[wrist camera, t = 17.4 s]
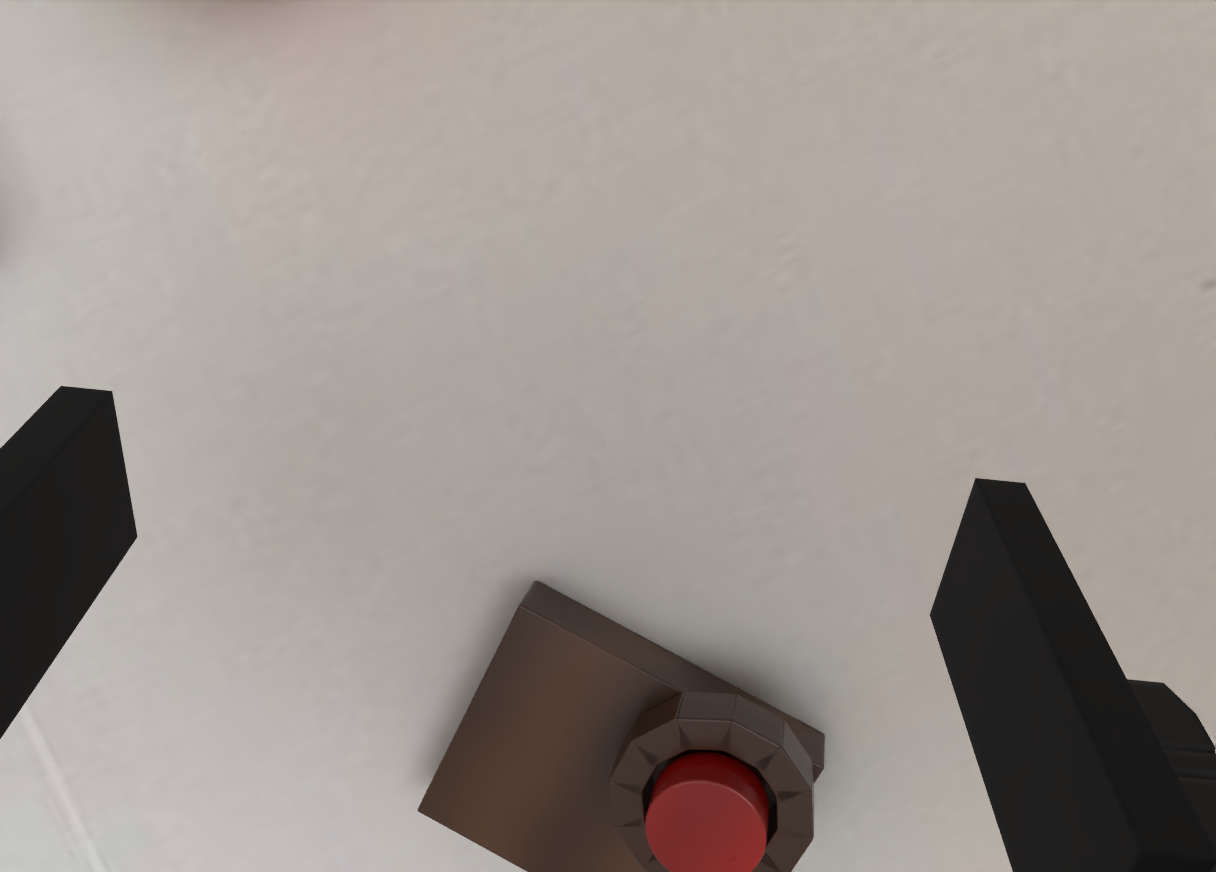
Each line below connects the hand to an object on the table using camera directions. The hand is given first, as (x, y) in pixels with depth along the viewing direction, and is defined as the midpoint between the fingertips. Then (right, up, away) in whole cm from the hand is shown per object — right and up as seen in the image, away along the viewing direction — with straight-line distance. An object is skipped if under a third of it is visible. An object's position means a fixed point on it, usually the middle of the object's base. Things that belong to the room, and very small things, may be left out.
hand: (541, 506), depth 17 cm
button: (+5, -11, +20) cm, 24 cm away
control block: (+2, -11, +24) cm, 27 cm away
